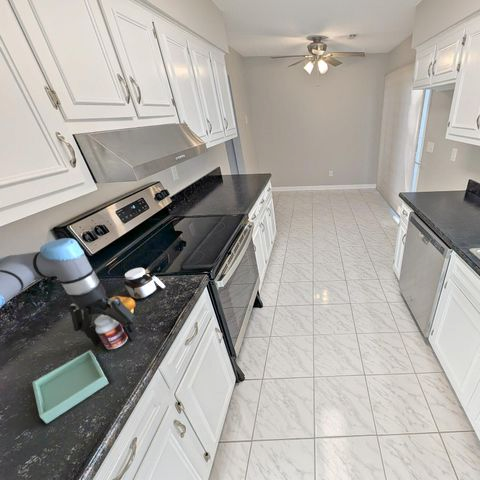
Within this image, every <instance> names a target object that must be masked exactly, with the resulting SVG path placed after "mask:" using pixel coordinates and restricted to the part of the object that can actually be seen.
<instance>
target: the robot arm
mask: <svg viewBox="0 0 480 480" xmlns="http://www.w3.org/2000/svg"><path fill="white" fill-rule="evenodd" d="M53 277H56V278H57V280H58V281H59V282H60V284H61V286H62V287H63V289H64V291H65V292H66V294H67V295H68V296H69V298H70V300H71V301H72V303H71V304H70V305H69V306H68V307H67V310H68V312H69V313H70V316H71V321H72V326H73V330H74V331H75V332H79V331H81V332H83V333H84V334H85V336H86V337H87V338H88V339H89V340H91V342H92V344H93V345H94V347H99V345H100V344H101V343H103V342H102V340H101V339H100V337H99V335H98V334H97V332H96V325H93V323H92V322H93V318H94V315H97V314H99V315H102V314H103V315H105V316H106V315H107V316H109V317H111V318H112V319H114V320H116V321H117V322H119V323H120V324H121V325H122V328H123V330H124V332H125V333H126V335H127V337H128V338H127V340H128V341H129V342H130V343H132V342H134V340H135V339H136V337H137V336H138V335H137V332H136V330H135V329H136V327H135V325H134V323H135V322H136V321H137V319H138V317H137V316H136V314H134V312H133V313H132V312H131V311H130V310H129V309H128V308H127V307H126V306H125V305H124V304H123V303H122V302H121V300H120V298H119V297H116V298H115V299H110V298H109V297H107V296H106V290H105V288H104V286H103V284H102V283H101V282H100V279H99V277H98V276H97V274H96V273H95V270H94V269H93V267H92V266H91V264H90V262H89V259H88V257H87V256H86V254H85V251H84V250H83V248H82V247H81V246H80V244H79V243H78V241H77V240H75V239H74V238H69V237H65V238H58V239H56V240H55V239H54V240H51V241H49V242H46V243H45V244H43V245H41V246H40V248H39V251H35V252H34V251H33V252H27V253H19V254H10V255H6V256H3V257H0V309H1V308H2V307H3V306H4V305H5V304H6V303H8V302H9V301H10V300H11V299H12V298H14V297H15V296H16V295H18V294H19V293H20V292H22V291H24V290H25V289H26V288H27V287H28V286H29V285H31V284H32V283H33V282H35V281H37V280H43V279H48V278H49V279H50V278H53ZM107 308H109V309H108V310H107ZM106 310H107V311H106ZM82 311H83V312H82Z"/></svg>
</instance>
